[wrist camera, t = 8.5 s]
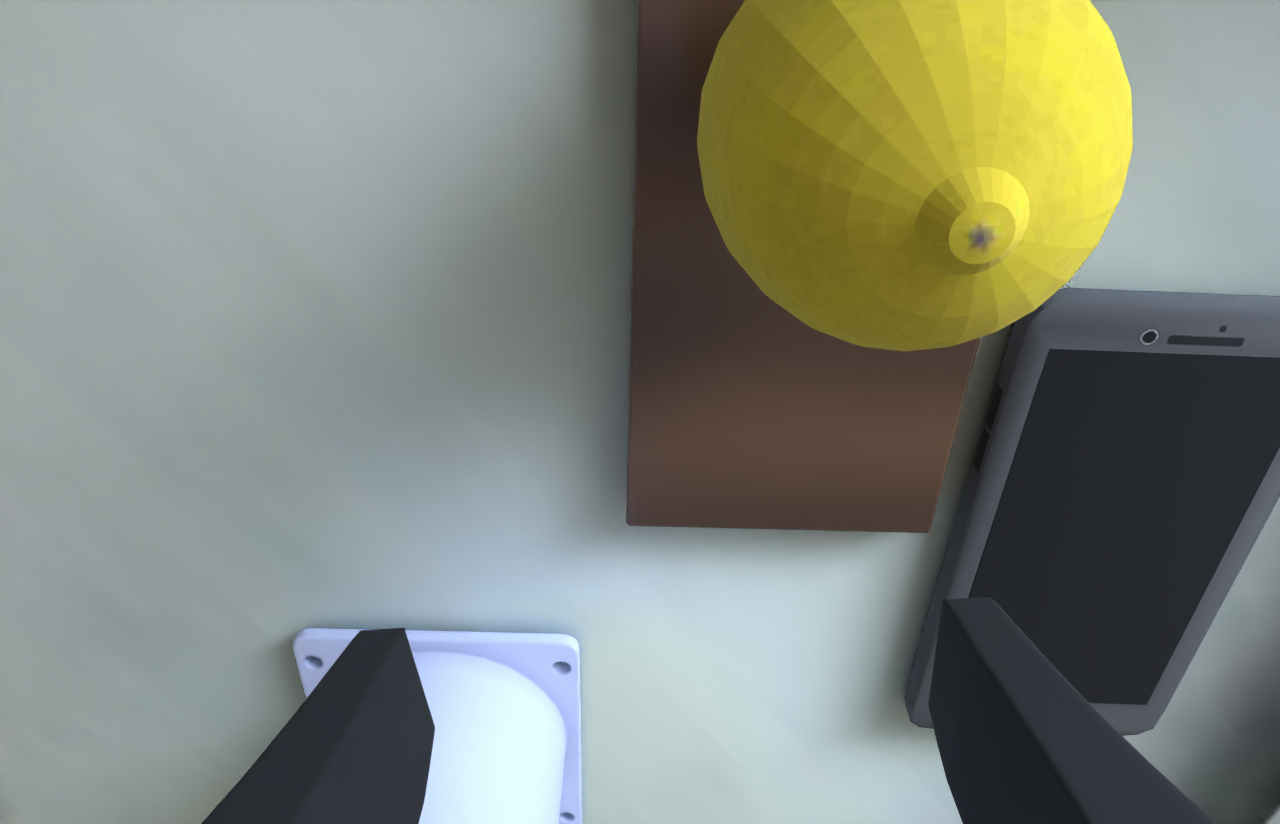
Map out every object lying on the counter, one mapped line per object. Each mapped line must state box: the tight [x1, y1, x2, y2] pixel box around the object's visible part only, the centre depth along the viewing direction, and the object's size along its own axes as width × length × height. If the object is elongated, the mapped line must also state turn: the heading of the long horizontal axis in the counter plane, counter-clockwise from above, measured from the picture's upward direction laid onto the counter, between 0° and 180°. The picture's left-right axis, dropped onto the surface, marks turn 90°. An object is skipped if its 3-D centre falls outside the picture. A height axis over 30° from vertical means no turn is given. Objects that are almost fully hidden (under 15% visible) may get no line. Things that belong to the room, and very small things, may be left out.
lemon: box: [697, 0, 1133, 351], centre depth 12 cm, size 6×6×8 cm
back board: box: [626, 0, 980, 533], centre depth 16 cm, size 20×8×1 cm, turn 179°
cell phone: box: [905, 288, 1280, 736], centre depth 22 cm, size 7×14×1 cm, turn 178°
